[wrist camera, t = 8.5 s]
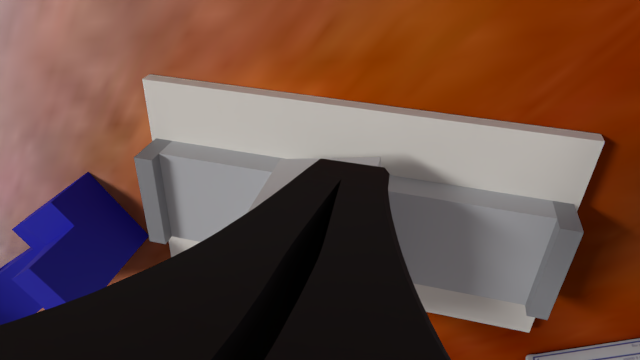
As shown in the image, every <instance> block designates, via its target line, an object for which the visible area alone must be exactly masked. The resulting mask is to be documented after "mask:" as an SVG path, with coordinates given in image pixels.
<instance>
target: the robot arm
mask: <svg viewBox="0 0 640 360" xmlns="http://www.w3.org/2000/svg"><path fill="white" fill-rule="evenodd" d="M389 176H390V174H389V172H388V171H387V170H386V169H385V167H378V166H371V165H364V164H357V163H350V162H343V161H336V160H329V159H322V158H321V159H319V160H318V161H317V162H315V163H314V164H312V165H311V166H310V167H308V168H307V169H306V170H304V171H303V172H302V173H301V174H299V175H298V176H297V177H295V178H294V179H293V180H292V181H290V182H289V183H288V184H286V185H285V186H284V187H282V188H281V189H280V190H279V191H277V192H276V193H274V194H273V195H272V196H270V197H269V198H268V199H266V200H265V201H263V202H262V203H261V204H259V205H258V206H257V207H255V208H254V209H252V210H251V211H249V212H248V213H246V214H245V215H243V216H242V217H240V218H239V219H237V220H236V221H234V222H232V223H231V224H229V225H228V226H226V227H225V228H223V229H222V230H220V231H219V232H217V233H215V234H214V235H212V236H210V237H208V238H207V239H205V240H203V241H201V242H200V243H198V244H196V245H194V246H193V247H191V248H189V249H187V250H185V251H183V252H181V253H179V254H177V255H175V256H173V257H171V258H169V259H167V260H166V261H164V262H161V263H159V264H157V265H155V266H153V267H151V268H149V269H146V270H144V271H142V272H139V273H137V274H135V275H132V276H130V277H128V278H126V279H123V280H121V281H119V282H116V283H114V284H112V285H109V286H107V287H105V288H102V289H100V290H98V291H95V292H93V293H90V294H88V295H85V296H82V297H80V298H77V299H74V300H72V301H69V302H66V303H64V304H61V305H58V306H56V307H53V308H50V309H47V310H44V311H41V312H38V313H35V314H32V315H29V316H26V317H23V318H20V319H17V320H14V321H11V322H8V323H5V324H2V325H0V360H451V359H450V357H449V356H448V354H447V352H446V350H445V349H444V347H443V345H442V343H441V341H440V339H439V337H438V335H437V333H436V331H435V329H434V327H433V326H432V324H431V322H430V320H429V318H428V315H427V313H426V311H425V309H424V307H423V305H422V303H421V300H420V298H419V296H418V294H417V291H416V289H415V286H414V284H413V281H412V279H411V276H410V274H409V271H408V268H407V265H406V263H405V260H404V257H403V254H402V251H401V248H400V245H399V241H398V238H397V234H396V230H395V226H394V222H393V219H392V214H391V209H390V202H389V195H388V185H389Z"/></svg>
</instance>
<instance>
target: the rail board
mask: <svg viewBox="0 0 640 360" xmlns="http://www.w3.org/2000/svg"><path fill="white" fill-rule="evenodd" d="M142 80H143V86H144V92H145V99H146V105H147V111H148V117H149V123H150V129H151V136H152V142H151V143H150V144H149V145H148V146H147V147H145V148H144V149H143V150H142V151H141V152H140V153H139V154H137V155H136V156H135V157H134V160H135V165H136V171H137V176H138V181H139V187H140V192H141V197H142V203H143V208H144V213H145V218H146V224H147V229H148V234H149V240H150V241H152V242H157V243H162V244H166V243H167V242H168V240H169V246H170V253H171V257H173V256H175V255H177V254H179V253H181V252H183V251H185V250H187V249H189V248H191V247H193V246H194V245H196V244H198V243H200V242H201V241H203V240H205V239H207V238H208V237H210V236H212V235H214V234H215V233H217V232H219V231H220V230H222V229H223V228H225V227H226V226H228V225H229V224H231V223H232V222H234V221H236V220H237V219H239V218H240V217H242V216H243V215H245V214H246V213H247V212H248V210H249V209H250V207H251V205H252V204H253V202H254V201H255V199H256V197H257V196H258V194H259V193H260V191H261V189H262V188H263V186H264V185H265V183H266V181H267V180H268V178H269V177H270V175H271V173H272V172H273V170H274V168H275V167H276V165H277V164H278V162H279V160H280V159H304V158H353V157H381V166H382V167H385V169H386V170H387V171H388V172H389V174H390V176H389V185H388V195H389V202H390V209H391V214H392V219H393V222H394V226H395V230H396V234H397V238H398V241H399V245H400V248H401V251H402V254H403V257H404V260H405V263H406V265H407V268H408V271H409V274H410V276H411V279H412V281H413V284H414V286H415V289H416V291H417V294H418V296H419V298H420V300H421V303H422V305H423V307H424V309H425V311H426V312H430V313H435V314H440V315H445V316H450V317H455V318H460V319H465V320H470V321H475V322H479V323H484V324H489V325H494V326H499V327H504V328H509V329H514V330H519V331H524V332H530V329H531V327H532V324H533V322H534V319H535V318H540V319H545V320H548V317H549V315H550V313H551V310H552V308H553V305H554V303H555V301H556V298H557V296H558V293H559V291H560V289H561V286H562V284H563V281H564V279H565V277H566V274H567V272H568V269H569V267H570V265H571V262H572V260H573V257H574V255H575V253H576V250H577V248H578V245H579V243H580V241H581V238H582V236H583V234H584V231H583V228H582V225H581V222H580V219H579V216H578V214H577V211H578V208H579V206H580V203H581V201H582V198H583V196H584V193H585V191H586V188H587V186H588V183H589V181H590V178H591V176H592V173H593V171H594V168H595V166H596V163H597V161H598V158H599V155H600V153H601V150H602V148H603V145H604V143H605V141H604V139H603V137H602V135H601V134H596V133H588V132H581V131H573V130H566V129H558V128H551V127H543V126H536V125H528V124H521V123H513V122H506V121H498V120H491V119H483V118H475V117H468V116H460V115H453V114H445V113H438V112H430V111H423V110H415V109H408V108H400V107H393V106H385V105H378V104H370V103H363V102H355V101H347V100H340V99H332V98H325V97H317V96H310V95H302V94H295V93H287V92H280V91H272V90H265V89H257V88H250V87H242V86H235V85H227V84H220V83H212V82H204V81H197V80H189V79H182V78H174V77H167V76H159V75H152V74H149V75H148V76H146V77H145V78H143V79H142Z"/></svg>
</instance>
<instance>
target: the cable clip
mask: <svg viewBox="0 0 640 360" xmlns="http://www.w3.org/2000/svg"><path fill="white" fill-rule="evenodd" d="M12 230H13V231H14V232H15V233H16V234H17V235H18V236H19V237H21V238H22V239H23V240H24V241H25V242H26V243H27V244H28V245H29V246H30V247H31V248H29V249H28V250H26V251H25V252H23V253H22V254H20V255H19V256H17V257H16V258H14V259H13V260H12V261H10V262H9V263H7V264H6V265H4V266H3V267H1V268H0V325H2V324H5V323H8V322H11V321H14V320H17V319H20V318H23V317H26V316H29V315H32V314H35V313H36V312H38V311H39V310H40V309H41V308H44V309H45V310H47V309H50V308H53V307H56V306H58V305H61V304H64V303H66V302H69V301H72V300H74V299H77V298H80V297H82V296H85V295H88V294H90V293H93V292H95V291H98V290H100V289H102V288H105V287H106V286H107V285H108V284H109V282H110V281H111V280H112V279H113V278H114V277H115V275H116V274H117V273H118V272H119V271H120V269H121V268H122V267H123V266H124V265H125V264H126V262H127V261H128V260H129V259H130V258H131V256H132V255H133V254H134V253H135V252H136V251H137V249H138V248H139V247H140V246H141V245H142V244H143V242H144V241H145V240H146V239H147V238H148V236H149V235H148V234H147V233H146V232H145V231H144V230H143V229H142V228H141V227H140V226H139V224H138V223H137V222H136V221H135V220H134V219H133V218H132V217H131V216H130V215H129V214H128V213H127V212H126V211H125V210H124V209H123V208H122V207H121V206H120V205H119V204H118V203H117V201H116V200H115V199H114V198H113V197H112V196H111V195H110V194H109V193H108V192H107V191H106V190H105V189H104V188H103V187H102V186H101V185H100V184H99V183H98V182H97V181H96V180H95V178H94V177H93V176H92V175H91V174H90V173H89V172H87V173H86V174H84V175H83V176H82V177H80V178H79V179H78V180H76V181H75V182H74V183H72V184H71V185H70V186H68V187H67V188H66V189H64V190H63V191H62V192H60V193H59V194H58V195H56V196H55V197H54V198H52V199H51V200H50V201H48V202H47V203H46V204H44V205H43V206H42V207H40V208H39V209H38V210H36V211H35V212H34V213H32V214H31V215H30V216H28V217H27V218H26V219H25V220H23V221H22V222H21V223H20V224H18V225H17V226H16V227H15V228H13V229H12Z"/></svg>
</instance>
